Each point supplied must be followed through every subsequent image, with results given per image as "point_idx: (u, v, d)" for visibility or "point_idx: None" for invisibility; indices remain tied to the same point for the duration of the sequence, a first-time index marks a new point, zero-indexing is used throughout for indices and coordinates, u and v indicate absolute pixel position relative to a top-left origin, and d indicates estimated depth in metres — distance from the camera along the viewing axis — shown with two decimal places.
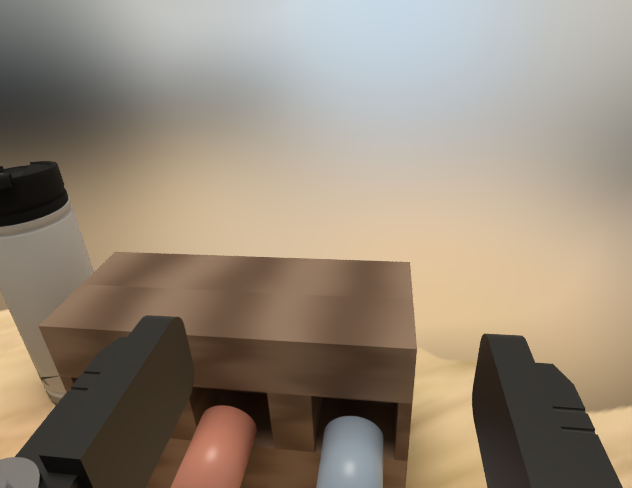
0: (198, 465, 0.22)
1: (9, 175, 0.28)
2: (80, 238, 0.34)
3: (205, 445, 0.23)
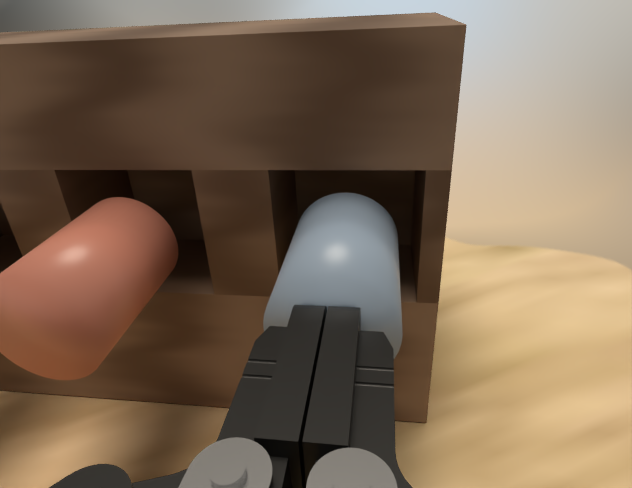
0: (37, 255, 0.11)
1: None
2: None
3: (62, 235, 0.12)
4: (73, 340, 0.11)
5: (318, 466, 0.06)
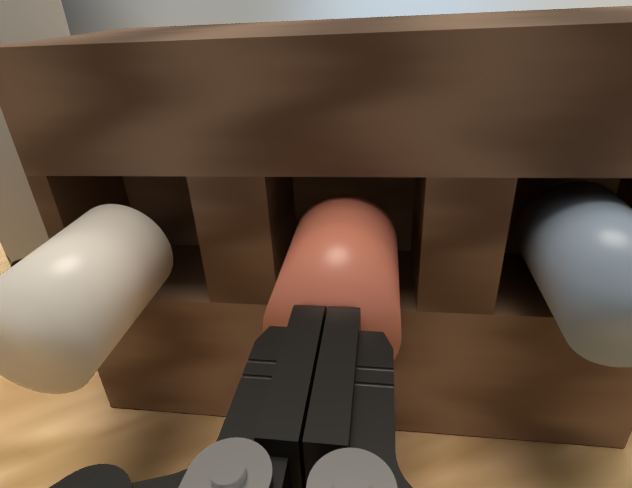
0: (327, 255, 0.10)
1: None
2: (68, 35, 0.22)
3: (329, 233, 0.11)
4: None
5: (318, 466, 0.06)
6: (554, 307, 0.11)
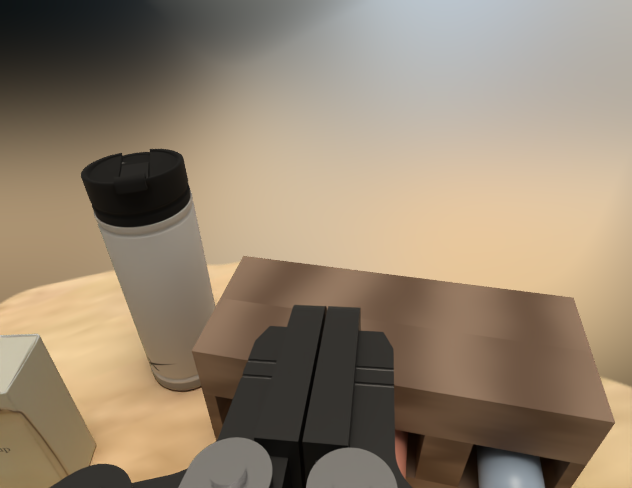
0: None
1: (144, 176, 0.26)
2: (199, 232, 0.32)
3: None
4: None
5: (318, 466, 0.06)
6: None
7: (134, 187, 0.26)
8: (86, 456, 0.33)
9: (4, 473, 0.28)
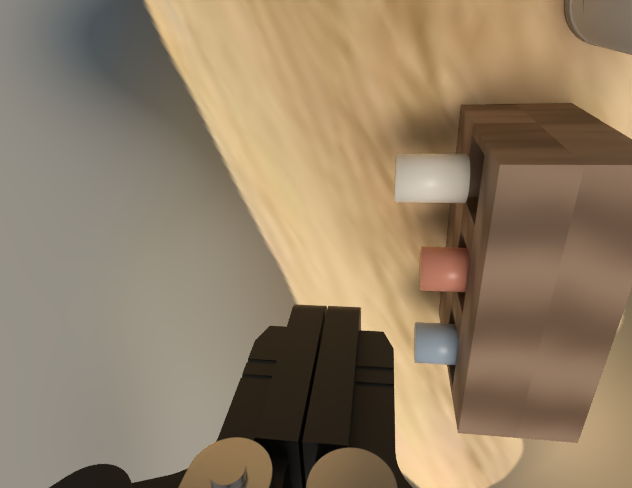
0: (435, 279, 0.32)
1: None
2: None
3: (452, 279, 0.32)
4: (420, 276, 0.34)
5: (318, 466, 0.06)
6: (423, 325, 0.36)
7: None
8: None
9: None
